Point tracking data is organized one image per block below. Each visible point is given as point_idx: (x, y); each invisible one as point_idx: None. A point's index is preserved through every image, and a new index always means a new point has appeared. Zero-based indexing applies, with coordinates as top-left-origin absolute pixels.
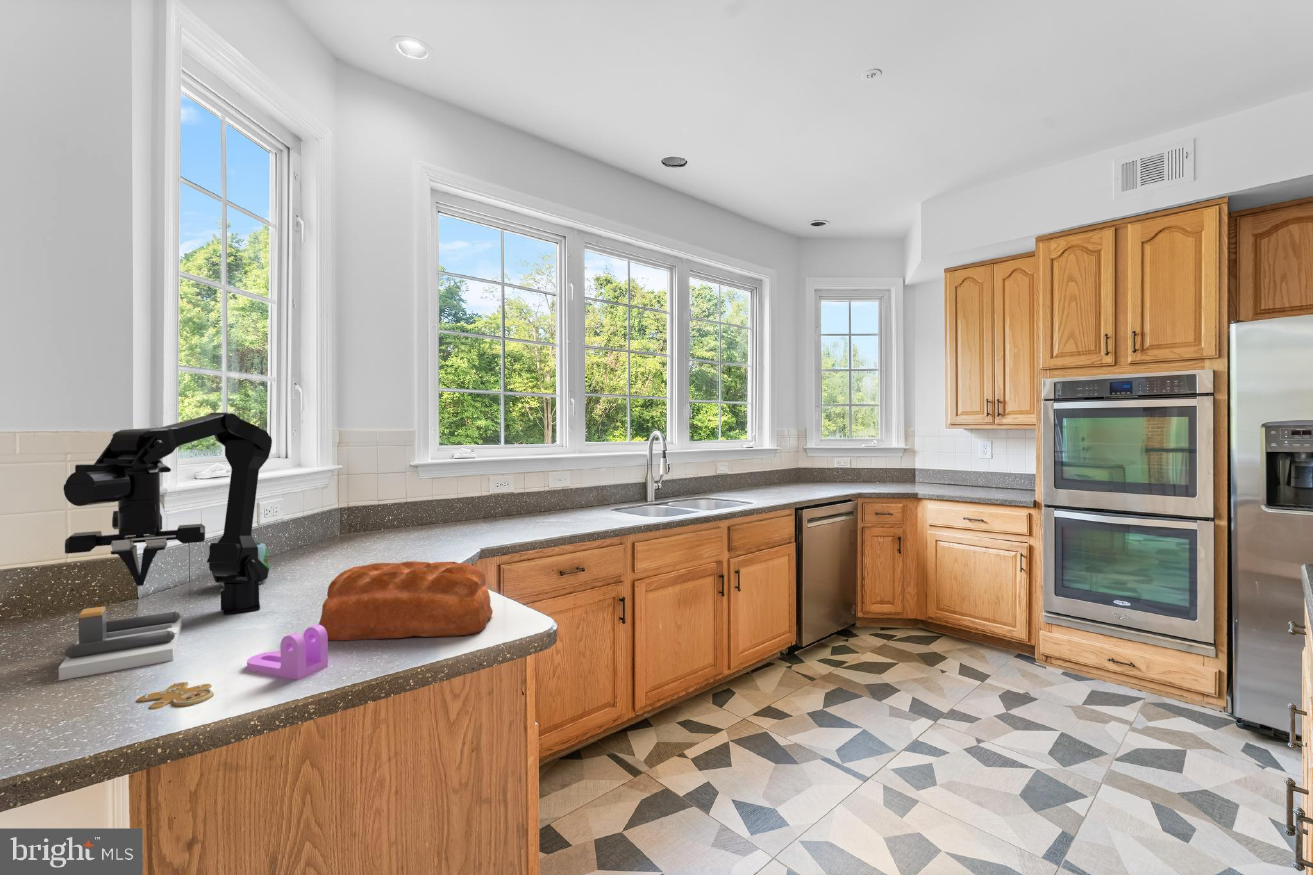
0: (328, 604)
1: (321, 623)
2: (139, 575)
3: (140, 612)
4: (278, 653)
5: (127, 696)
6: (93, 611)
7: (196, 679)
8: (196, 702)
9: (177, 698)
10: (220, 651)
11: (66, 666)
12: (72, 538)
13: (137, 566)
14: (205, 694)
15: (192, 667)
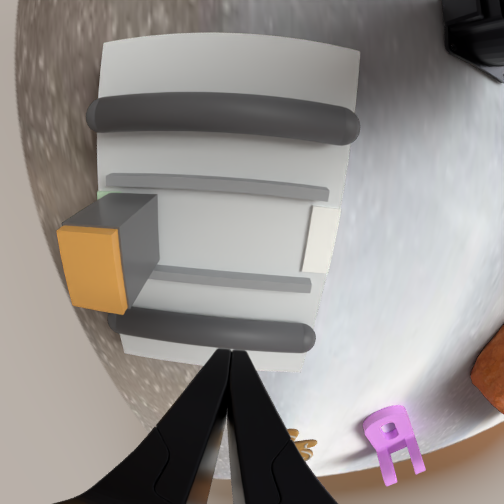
0: (502, 398)
1: (482, 382)
2: (223, 420)
3: None
4: (402, 420)
5: None
6: (97, 294)
7: (309, 426)
8: None
9: None
10: (371, 351)
11: (134, 353)
12: None
13: (208, 479)
14: (304, 458)
15: (316, 394)
